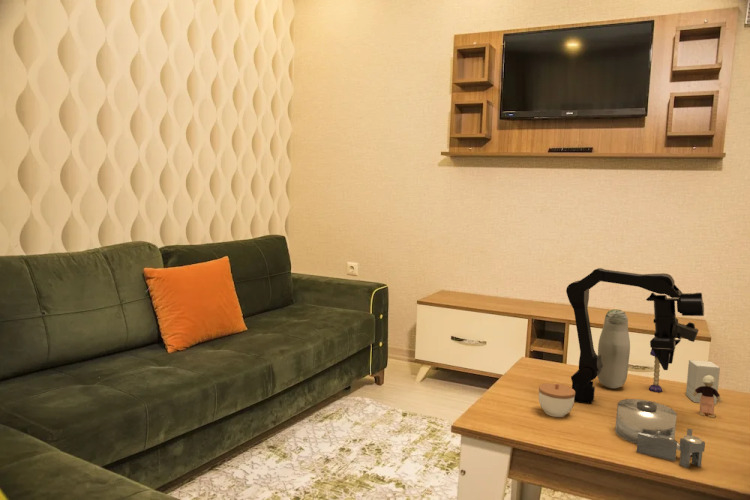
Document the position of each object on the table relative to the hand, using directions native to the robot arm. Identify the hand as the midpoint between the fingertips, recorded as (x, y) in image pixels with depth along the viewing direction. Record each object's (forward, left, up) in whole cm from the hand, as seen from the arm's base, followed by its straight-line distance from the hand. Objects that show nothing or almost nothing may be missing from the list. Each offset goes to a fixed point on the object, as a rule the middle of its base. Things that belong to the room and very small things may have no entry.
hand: (667, 366), depth 168 cm
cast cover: (-5, -17, -17) cm, 24 cm away
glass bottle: (-16, +23, -17) cm, 32 cm away
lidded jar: (-30, -13, -17) cm, 37 cm away
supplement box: (+12, +26, -17) cm, 33 cm away
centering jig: (+3, -28, -16) cm, 33 cm away
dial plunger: (+3, -28, -15) cm, 32 cm away
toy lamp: (-2, +28, -17) cm, 32 cm away
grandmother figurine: (+12, +11, -17) cm, 23 cm away
